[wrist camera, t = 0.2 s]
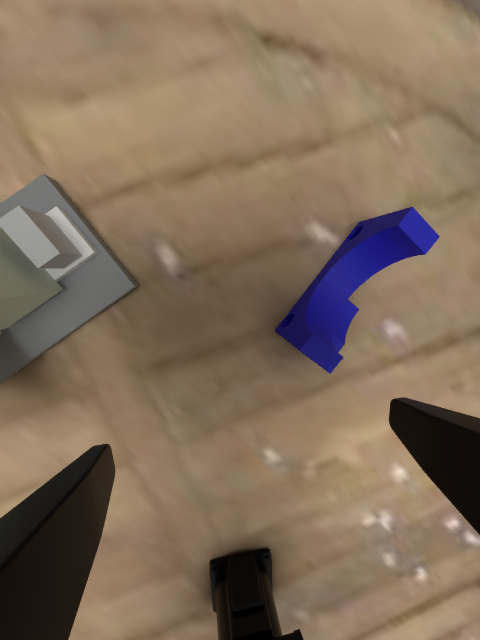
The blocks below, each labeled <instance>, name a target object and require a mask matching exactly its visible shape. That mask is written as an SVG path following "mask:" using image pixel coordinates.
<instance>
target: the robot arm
mask: <svg viewBox="0 0 480 640" xmlns="http://www.w3.org/2000/svg"><path fill="white" fill-rule="evenodd" d="M389 424H390V426H391V428H392V430H393V431H394V432H395V434H396V435H397V436H398V438H399V439H400V440H401V442H402V443H403V444H404V446H405V447H406V448H407V450H408V451H409V452H410V454H411V455H412V456H413V458H414V459H415V461H416V462H417V463H418V464H419V466H420V467H421V468H422V470H423V471H424V472H425V473H426V474H427V476H428V477H429V478H430V479H431V480H432V481H433V482H434V484H435V485H436V486H437V487H438V488H439V489H440V490H441V492H442V493H443V494H444V495H445V496H446V497H447V498H448V500H449V501H450V502H451V503H452V504H453V505H454V506H455V507H456V509H457V510H458V511H459V512H460V513H461V514H462V515H463V517H464V518H465V519H466V520H467V521H468V522H469V523H470V524H471V526H472V527H473V528H474V529H475V530H476V531H477V532H478V534H479V535H480V418H477V417H473V416H470V415H466V414H462V413H459V412H455V411H452V410H448V409H444V408H441V407H437V406H434V405H430V404H426V403H423V402H419V401H416V400H412V399H408V398H404V397H402V398H396V399H393V400H392V401H391V402H390V413H389ZM114 478H115V465H114V460H113V455H112V450H111V447H110V445H109V444H102V445H95V446H93V447H91V448H90V449H89V450H88V451H86V452H85V453H84V454H82V455H81V456H80V457H79V458H77V459H76V460H75V461H73V462H72V463H71V464H70V465H68V466H67V467H66V468H64V469H63V470H62V471H61V472H59V473H58V474H57V475H55V476H54V477H53V478H52V479H50V480H49V481H48V482H46V483H45V484H44V485H43V486H41V487H40V488H39V489H37V490H36V491H35V492H34V493H32V494H31V495H30V496H28V497H27V498H26V499H25V500H23V501H22V502H21V503H20V504H18V505H17V506H16V507H14V508H13V509H12V510H11V511H9V512H8V513H7V514H5V515H4V516H3V517H2V518H0V640H68V639H69V636H70V632H71V629H72V626H73V623H74V620H75V617H76V614H77V611H78V608H79V605H80V602H81V599H82V595H83V592H84V589H85V586H86V583H87V580H88V577H89V574H90V571H91V568H92V565H93V561H94V558H95V555H96V552H97V549H98V546H99V543H100V539H101V536H102V532H103V528H104V523H105V519H106V514H107V510H108V505H109V501H110V496H111V491H112V487H113V482H114ZM210 578H211V590H212V601H213V611H214V612H216V613H217V626H218V640H303V637H302V634H301V632H300V629H298V630H294V632H293V633H289V634H286V635H282V632H281V628H280V624H279V619H278V615H277V611H276V606H275V602H274V598H273V593H272V559H271V552H270V550H269V549H264V550H259V551H254V552H250V553H245V554H240V555H236V556H231V557H226V558H222V559H217V560H213V561H211V562H210Z"/></svg>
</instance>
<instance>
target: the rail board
mask: <svg viewBox="0 0 480 640" xmlns="http://www.w3.org/2000/svg"><path fill="white" fill-rule="evenodd" d="M138 286H139V285H138V283H137V282H136V281H135V280H134V278H133V277H132V276H131V275H130V273H129V272H128V271H127V270H126V268H125V267H124V266H123V265H122V263H121V262H120V261H119V260H118V258H117V257H116V256H115V255H114V253H113V252H112V251H111V250H110V248H109V247H108V246H107V245H106V243H105V242H104V241H103V240H102V238H101V237H100V236H99V235H98V233H97V232H96V231H95V230H94V228H93V227H92V226H91V225H90V223H89V222H88V221H87V220H86V218H85V217H84V216H83V215H82V213H81V212H80V211H79V210H78V208H77V207H76V206H75V205H74V203H73V202H72V201H71V199H70V198H69V197H68V196H67V194H66V193H65V192H64V191H63V189H62V188H61V187H60V186H59V184H58V183H57V182H56V181H55V180H53V179H51V178H50V177H48V176H47V175H45V174H43V175H41V176H40V177H38V178H37V179H36V180H34V181H33V182H31V183H30V184H28V185H27V186H25V187H24V188H23V189H21V190H20V191H18V192H17V193H15V194H14V195H12V196H11V197H9V198H8V199H7V200H5V201H4V202H2V203H1V204H0V332H1V334H0V384H1V383H2V382H3V381H5V380H6V379H8V378H9V377H10V376H12V375H13V374H15V373H16V372H18V371H19V370H20V369H22V368H23V367H25V366H26V365H27V364H29V363H30V362H32V361H33V360H34V359H36V358H37V357H39V356H40V355H42V354H43V353H44V352H46V351H47V350H49V349H50V348H51V347H53V346H54V345H56V344H57V343H58V342H60V341H61V340H63V339H64V338H66V337H67V336H68V335H70V334H71V333H73V332H74V331H75V330H77V329H78V328H80V327H81V326H82V325H84V324H85V323H87V322H88V321H90V320H91V319H92V318H94V317H95V316H97V315H98V314H99V313H101V312H102V311H104V310H105V309H107V308H108V307H109V306H111V305H112V304H114V303H115V302H116V301H118V300H119V299H121V298H122V297H123V296H125V295H126V294H128V293H129V292H131V291H132V290H133V289H135V288H136V287H138Z"/></svg>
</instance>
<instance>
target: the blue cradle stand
mask: <svg viewBox="0 0 480 640" xmlns="http://www.w3.org/2000/svg"><path fill="white" fill-rule="evenodd" d="M438 238H439V235H438V234H437V233H436V232H435V231H434V230H433V229H432V228H431V227H430V225H429V224H428V223H427V222H426V221H425V220H424V219H423V218H422V217H421V215H420V214H419V213H418V212H417V211H416V210H415V209H414V208H413V207H410V208H406V209H403V210H400V211H396V212H393V213H389V214H386V215H382V216H379V217H375V218H372V219H368V220H365V221H361V222H359V223H358V224H357V225H356V227H355V228H354V229H353V231H352V232H351V233H350V234H349V236H348V237H347V238H346V240H345V241H344V242H343V243H342V245H341V246H340V247H339V249H338V250H337V251H336V252H335V254H334V255H333V256H332V258H331V259H330V260H329V262H328V263H327V264H326V265H325V267H324V268H323V269H322V271H321V272H320V273H319V274H318V276H317V277H316V278H315V280H314V281H313V282H312V283H311V285H310V286H309V287H308V289H307V290H306V291H305V293H304V294H303V295H302V296H301V298H300V299H299V300H298V302H297V303H296V304H295V305H294V307H293V308H292V309H291V311H290V312H289V313H288V314H287V316H286V317H285V318H284V320H283V321H282V322H281V324H280V325H279V326H278V327H277V329H276V330H275V331H276V332H277V333H278V334H279V335H281V336H282V337H283V338H284V339H286V340H287V341H288V342H289V343H291V344H292V345H293V346H294V347H296V348H297V349H298V350H299V351H301V352H302V353H303V354H305V355H306V356H307V357H309V358H310V359H311V360H313V361H314V362H315V363H317V364H318V365H319V366H321V367H322V368H323V369H324V370H326V371H327V372H328V373H331V372H332V371H333V370H334V368H335V367H336V366H337V365H338V363H339V362H340V361H341V360H342V358H343V356H341V355H340V354H339V353H338V352H339V351H340V349H341V348H342V347H343V346H344V344H345V337H346V333H347V329H348V327H349V325H350V323H351V321H352V319H353V317H354V316H355V314H356V313H357V311H358V310H359V309H358V308H357V307H356V306H355V305H354V304H352V303H351V302H350V301H349V300H348V298H349V297H350V296H351V295H352V293H353V292H354V291H355V290H356V289H357V288H358V287H359V286H360V285H361V284H363V283H364V282H365V281H366V280H367V279H369V278H370V277H371V276H373V275H374V274H376V273H377V272H379V271H380V270H382V269H383V268H385V267H387V266H389V265H391V264H393V263H395V262H397V261H400V260H403V259H405V258H409V257H412V256H417V255H425V254H426V253H427V252H428V251H429V249H430V248H431V247H432V246H433V244H434V243H435V242H436V241H437V239H438Z"/></svg>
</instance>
